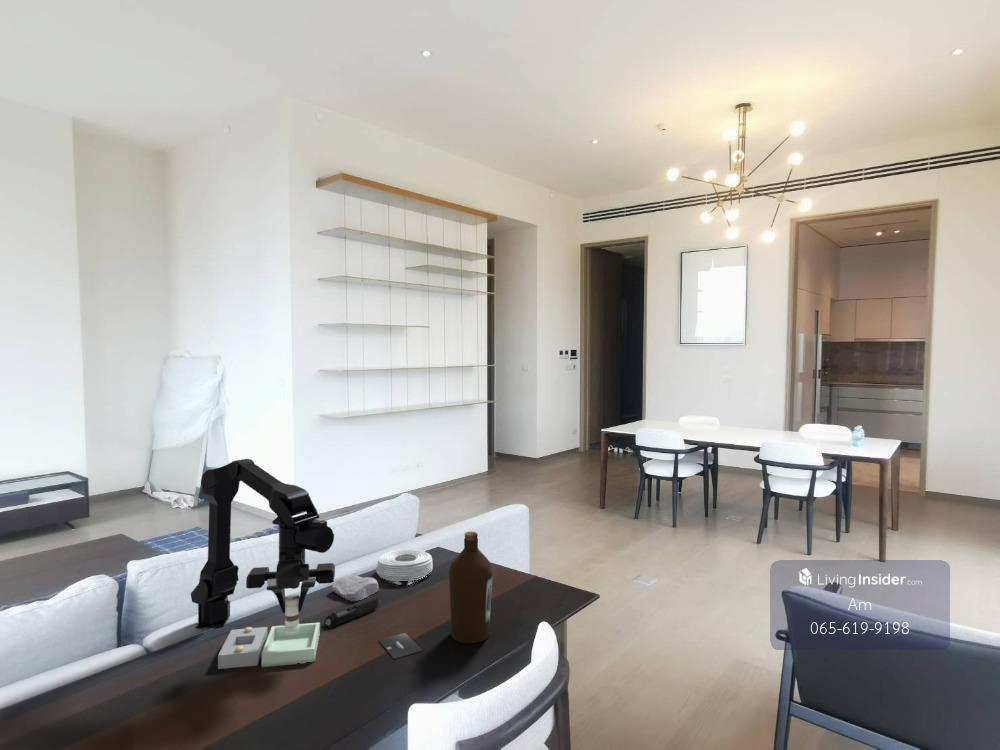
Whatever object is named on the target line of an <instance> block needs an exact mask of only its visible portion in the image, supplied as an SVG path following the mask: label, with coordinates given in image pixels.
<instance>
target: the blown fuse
mask: <svg viewBox="0 0 1000 750" xmlns="http://www.w3.org/2000/svg"><path fill="white" fill-rule="evenodd" d="M299 600H300V595H299V594H297V593H296V594H288V595H285V613H284V625H285V634H287V635H293V634H296V633H298V632H299V624H300V612H299Z"/></svg>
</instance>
